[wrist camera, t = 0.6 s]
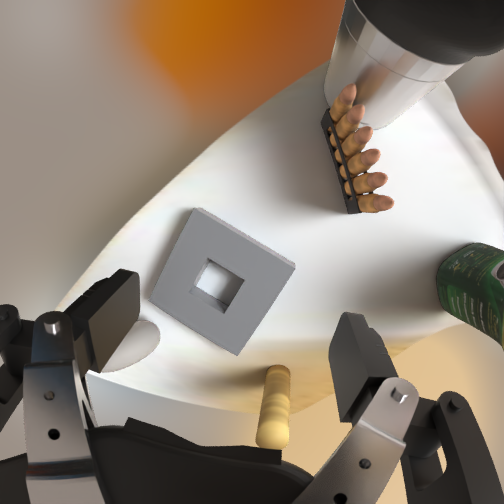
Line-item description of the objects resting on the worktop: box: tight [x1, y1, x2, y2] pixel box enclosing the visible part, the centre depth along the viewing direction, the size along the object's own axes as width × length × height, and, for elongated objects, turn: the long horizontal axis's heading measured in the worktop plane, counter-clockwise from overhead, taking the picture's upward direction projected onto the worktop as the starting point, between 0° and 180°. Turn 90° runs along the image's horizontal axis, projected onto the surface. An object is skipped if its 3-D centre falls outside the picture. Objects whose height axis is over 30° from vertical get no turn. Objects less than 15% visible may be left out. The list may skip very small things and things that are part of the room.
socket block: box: [148, 208, 295, 356], centre depth 31 cm, size 12×12×2 cm
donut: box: [101, 320, 160, 372], centre depth 30 cm, size 10×4×10 cm, turn 112°
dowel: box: [256, 365, 290, 450], centre depth 28 cm, size 3×3×12 cm
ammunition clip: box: [321, 83, 394, 214], centre depth 23 cm, size 11×2×12 cm, turn 16°
